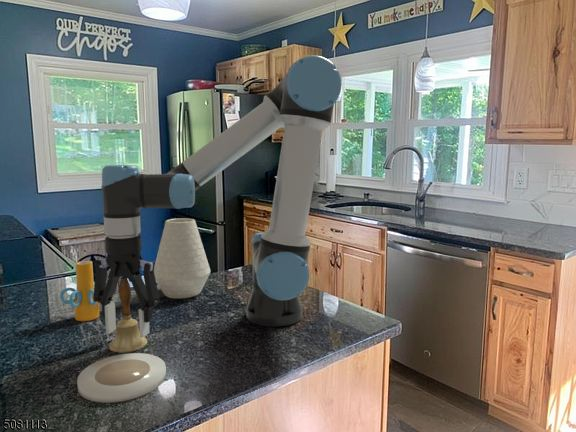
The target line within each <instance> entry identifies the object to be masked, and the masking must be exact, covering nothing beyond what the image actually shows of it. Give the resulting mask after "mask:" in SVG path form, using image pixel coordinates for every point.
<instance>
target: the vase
mask: <svg viewBox="0 0 576 432" xmlns="http://www.w3.org/2000/svg"><path fill="white" fill-rule="evenodd" d="M161 235H162V236H161V237H160V238H161V239H160V242H159V246H158V250H157V254H156V259H155V261H154V262H155V267H154V274H155V279H156V284H157V285H158V287H159V289H160V290H161V292H162V293H163V295H164V296H165V297H167V298H169V299H175V300H176V299H177V300H178V299H180V300H182V299H189V298H193V297H196V296H198V295H200V294H201V292H202V290H203V288H204V286H205V285H206V283H207V280H208V279H209V276H210V275H211V268H210V264H209V262H208V258H207V255H206V251H205V249H204V244H203V242H202V238H201V234H200V232H199V228H198V225H197V222H196V219H194V218H186V217H185V218H171V219H167V220H165V222H164V226H163V231H162V234H161Z"/></svg>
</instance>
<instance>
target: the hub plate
mask: <svg viewBox="0 0 576 432" xmlns="http://www.w3.org/2000/svg"><path fill="white" fill-rule="evenodd" d="M166 376H167V366H166V362H165V361H164V360H163V359H162V358H160V357H159V356H156V355H154V354H151V353H150V354H149V353H143V352H141V353H139V352H137V353H136V352H134V353H133V352H132V353H131V352H129V353H122V354H121V353H120V354H118V355H113V356H109V357H106V358H103V359H100V360H97V361H95V362H93V363H92V364H90V365H88V366H87V367H85V368H84V369H83V370H82V371H81V372H80V373H79V374H78V376H77V380H76V382H77V383H76V384H77V392H78V394H79V395H80V396H81V397H82V398H83V399H85V400H88V401H90V402H95V403H103V404H104V403H106V404H107V403H119V402H125V401H131V400H134V399H137V398H140V397H142V396H144V395H147V394H149V393H151V392H153V391H155V390H156V389H157V388H159V386H161V385H162V384H163V383H164V381H165V379H166V378H167V377H166Z"/></svg>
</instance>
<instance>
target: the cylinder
mask: <svg viewBox="0 0 576 432" xmlns="http://www.w3.org/2000/svg"><path fill="white" fill-rule="evenodd" d="M93 264H94V263H93V261H92V260H81V261H77V262H75V275H76V289H75V288H73V287H66V288H64V289H62V291H61V292H60V294H59V299H60V300H61V302H63V303H64V304H68V305H69V304H70V307H72V308H74V311H73V312H74V319H75V320H76V322H88V321H93V320H96V319H98V318H99V317H100V303H99V302H95V301H94V300H93V296H94V285H95V279H94V267H93ZM68 291H69V292H72V293H70V295H69V300H67V299H65V297H64V295H65V293H66V292H68Z"/></svg>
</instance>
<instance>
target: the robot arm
mask: <svg viewBox="0 0 576 432" xmlns="http://www.w3.org/2000/svg"><path fill="white" fill-rule="evenodd" d="M341 90H342V77H341V74H340V72H339V69H338V68H337V67H336V66H335V63H333V62H332V61H331V60H329V59H328V58H326V57H324V56H320V55H315V54H314V55H313V54H312V55H307V56H304V57H301V58H299V59H297V60H295V62H293V63H292V64H291V65H290V67H289V69H288V71H287V72H286V74H285V75H284V76H283V78H282V79H281V80H280V82H279V83H278V84H277V85H276V86H275V87H274V88H273V89H272V90H271V91H269V92H268V93H267V94H265V95H264V96H263V101H262V102H261V103H260V104H259V105H257V106H256V107H255V108H253V109H251V110H250V112H248V113H247V114H245V115H244V116H243V117H241V118H240V119H238V120H237V121H236V122H235V123H233V124H231V126H229V127H227V128H226V129H225V130H224V131H222V132H221V133H220V134H218V135H217V136H216V137H214V138H213V139H212V140H210V141H209V142H208V143H206V144H204V145H203V146H202V147H201V148H199V149H198V150H196V152H194V153H193V154H191V155H190V156H189V157H187V158H186V159H184V161H183V160H182V162H180V163H179V164H178V165H176V166H175V167H173V168H172V169H171V170H169V171H168V172H167V173H155V174H151V173H150V174H147V173H145V174H144V173H140V171H139V167H138V166H137V165H136V164H135V165H134V164H110V165H105V166H104V167H102V170H101V193H102V208H103V228H104V229H103V231H104V235H106V237H105V238H104V245H105V246H104V247H105V253H106V257H100V258H98V259H95V260H94V263H93V264H94V268H95V276H94V277H95V278H94V282H95V285H94V296H93V300H94V301H95V302H99V304H100V306H101V311H102V313H101V314H102V318H103V319H105V321H104V322H105V334H106V335H107V334H108V335H109V334H111V333H112V332H114V331H116V330H117V321H116V317H117V316H116V303H115V302H114V299H113V297H114V295H115V291H116V289H117V286H118V283H119V282H120V281H119V280H120V279H121V277H127V280H128V282H129V283H131V285H132V287H133V290H134V292H135V294H136V297H137V299H138V301H139V303H140V305H141V308H139V309H138V316H139V317H138V319H139V320H138V322H139V323H138V325H139V330H140V337H142V338H143V337H145V338H146V337H147V336H148V335H149V334H150V333H151V332H150V322H151V321H152V320H153V311H152V310H153V307H155V306H157V305H158V304H159V303H160V296H159V291H158V286H157V285H158V284H157V282H156V279H155V274H154V267H155V262H156V261H154V260H151V261H148V260H147V261H146V260H144V259H143V258H142V250H143V249H142V247H143V246H142V236H141V235H140V234H141V232H142V231H141V230H142V229H141V211H140V210H141V209H177V210H180V209H185V208H192V207H193V206H194V205H195V203H196V202H195V201H196V191H197V190H198V189H200V187H202V186H203V185H204V184H206V183H208V182H209V181H210V180H212V179H213V178H214V177H216V176H217V175H219V174H220V173H221V172H222V171H224V170H225V169H226V168H228V167H230V166H231V165H232V164H233V163H234V162H235V161H237V160H239V159H240V158H242V157H243V156H244V155H245V154H247V153H249V152H250V151H251V150H253V149H254V148H255V147H257V146H258V145H259V144H260V143H262V142H263V141H264V140H266V139H267V138H268V137H270V136H271V135H273V134H274V133H275V132H277V131H278V130H279V129H283V137H282V141H281V148H280V154H279V161H278V166H277V167H278V168H277V174H276V181H275V186H274V193H273V199H272V206H271V214H270V217H269V218H270V219H269V224H268V225H269V226H268V229H267V230H266V231H265V232H264V231H263V232H257V233H254V234H253V236H252V242H251V246H252V290H251V294H250V296H249V299H248V303H247V306H246V312H245V313H246V319H247V320H248V322H251V323H252V324H255V325H258V326H264V327H276V328H277V327H284V326H285V327H286V326H290V325H294V324H296V323H298V322H300V321H301V320H302V319H303V305H302V303H301V300H300V296H299V295H301V294H302V293H303V292H304V291H305V290H306V289H307V286H308V285H309V284H308V283H309V280H310V269H309V264H308V263H309V262H308V261H309V255H310V250H311V241H310V240H309V238H308V237H307V236H306V232H307V228H308V227H307V226H308V221H309V214H310V208H311V203H312V202H311V201H312V197H313V190H314V184H315V178H316V172H317V166H318V160H319V153H320V148H321V143H322V142H321V141H322V138H323V137H322V136H323V132H324V130H326V129H327V128H328V127H329V126H331V122H332V119H333V117H332V116H333V112H334V107H335V104H336V103H337V101H338V99H339V97H340V94H341ZM108 267H109V269H110V270H109V272H108ZM140 268H141V270H140ZM141 271H143V272H141ZM142 273H143V274H142Z"/></svg>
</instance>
